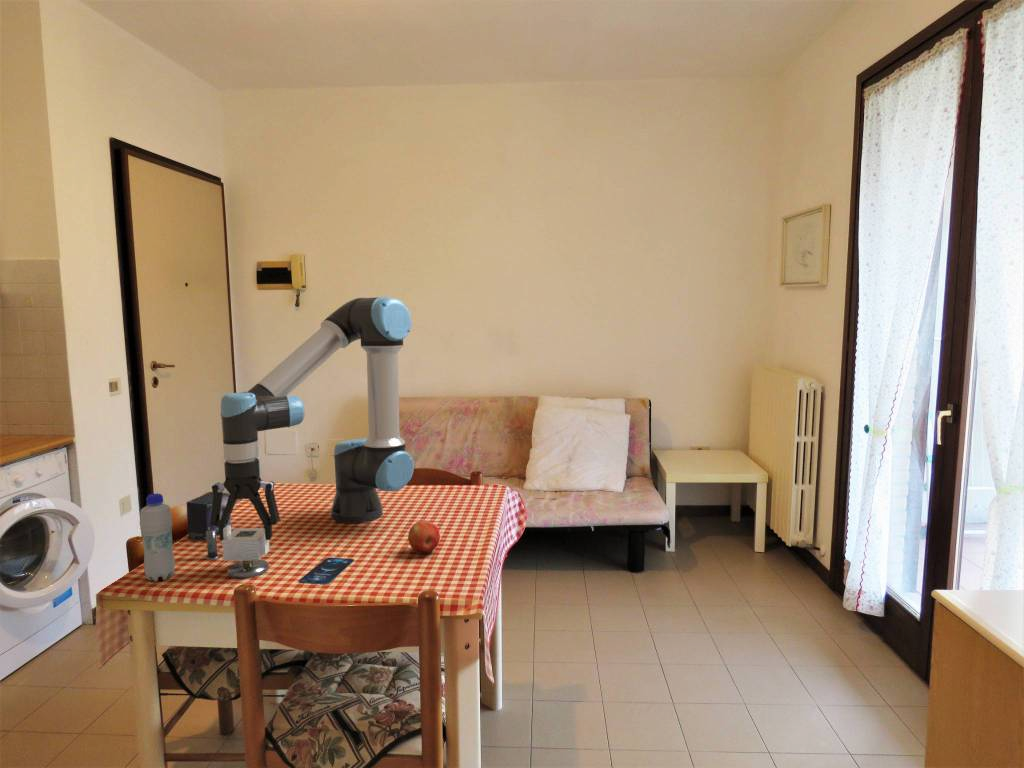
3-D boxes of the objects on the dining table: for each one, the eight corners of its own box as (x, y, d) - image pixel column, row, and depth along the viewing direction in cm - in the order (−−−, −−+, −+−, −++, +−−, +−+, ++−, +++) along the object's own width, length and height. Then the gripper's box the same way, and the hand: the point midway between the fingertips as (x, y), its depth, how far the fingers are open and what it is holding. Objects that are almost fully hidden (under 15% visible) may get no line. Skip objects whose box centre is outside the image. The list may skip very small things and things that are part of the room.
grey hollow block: (269, 547, 159) (268, 527, 158) (258, 560, 151) (257, 539, 150) (236, 548, 159) (235, 528, 158) (223, 561, 151) (222, 540, 150)
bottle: (152, 572, 155) (145, 490, 153) (181, 570, 156) (175, 489, 153) (138, 584, 149) (131, 498, 146) (169, 582, 149) (162, 497, 147)
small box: (208, 541, 176) (205, 503, 174) (187, 539, 177) (184, 502, 176) (232, 528, 186) (230, 492, 185) (212, 526, 187) (209, 491, 186)
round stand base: (273, 562, 160) (272, 539, 159) (261, 578, 151) (259, 553, 150) (236, 563, 160) (234, 540, 159) (221, 579, 151) (219, 554, 150)
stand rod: (222, 554, 166) (220, 528, 165) (216, 560, 162) (215, 532, 161) (208, 555, 165) (206, 528, 165) (203, 560, 162) (201, 533, 161)
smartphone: (356, 559, 162) (328, 583, 147) (356, 561, 162) (328, 586, 147) (327, 557, 163) (296, 581, 148) (327, 559, 163) (296, 583, 149)
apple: (439, 545, 171) (438, 515, 170) (441, 557, 162) (440, 526, 162) (408, 547, 169) (407, 517, 168) (408, 559, 161) (408, 528, 160)
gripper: (291, 454, 156) (296, 546, 159) (203, 456, 156) (209, 548, 158) (281, 462, 149) (286, 558, 152) (188, 464, 148) (195, 560, 151)
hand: (247, 553), depth 155 cm, fingers closed on grey hollow block, 8 cm apart
